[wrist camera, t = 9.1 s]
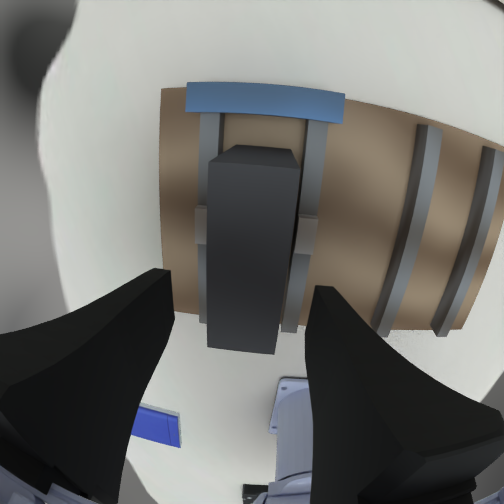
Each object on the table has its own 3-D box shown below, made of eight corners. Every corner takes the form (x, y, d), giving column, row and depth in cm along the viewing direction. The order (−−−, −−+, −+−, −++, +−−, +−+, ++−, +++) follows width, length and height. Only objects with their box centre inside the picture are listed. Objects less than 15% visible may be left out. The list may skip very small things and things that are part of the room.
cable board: (457, 323, 21) (473, 348, 18) (170, 303, 22) (156, 331, 19) (510, 151, 14) (539, 160, 11) (166, 89, 15) (143, 85, 12)
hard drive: (93, 422, 31) (180, 449, 31) (77, 388, 27) (177, 419, 27) (97, 414, 32) (182, 440, 32) (83, 379, 29) (180, 408, 29)
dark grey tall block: (276, 276, 19) (274, 354, 13) (229, 272, 19) (207, 347, 13) (290, 149, 16) (300, 169, 9) (236, 144, 16) (208, 161, 9)
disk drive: (242, 480, 38) (245, 502, 44) (240, 494, 35) (244, 513, 41) (306, 482, 37) (296, 504, 43) (306, 496, 34) (296, 515, 40)
